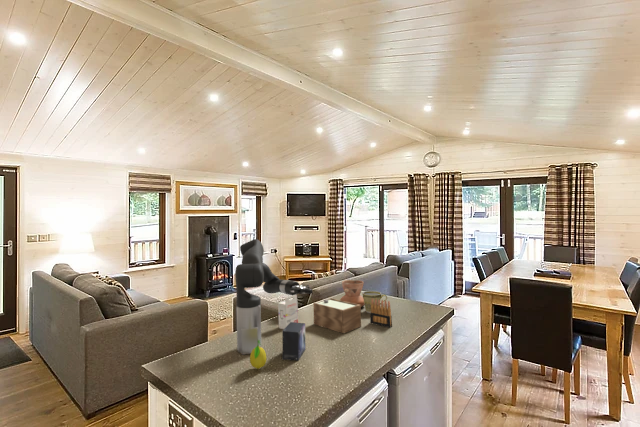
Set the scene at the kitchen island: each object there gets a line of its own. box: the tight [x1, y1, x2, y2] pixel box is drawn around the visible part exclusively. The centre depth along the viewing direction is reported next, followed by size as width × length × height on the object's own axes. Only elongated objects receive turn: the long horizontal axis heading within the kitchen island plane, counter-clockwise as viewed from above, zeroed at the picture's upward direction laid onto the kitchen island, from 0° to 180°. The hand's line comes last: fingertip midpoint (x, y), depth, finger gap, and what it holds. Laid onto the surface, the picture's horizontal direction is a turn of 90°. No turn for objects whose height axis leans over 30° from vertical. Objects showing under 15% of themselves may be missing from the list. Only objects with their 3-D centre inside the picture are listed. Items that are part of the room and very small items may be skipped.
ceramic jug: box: [339, 279, 365, 308], centre depth 189 cm, size 18×14×14 cm
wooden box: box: [313, 298, 362, 334], centre depth 157 cm, size 19×12×10 cm, turn 45°
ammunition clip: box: [369, 298, 393, 328], centre depth 156 cm, size 11×2×12 cm, turn 50°
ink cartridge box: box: [277, 294, 299, 330], centre depth 156 cm, size 9×5×15 cm, turn 143°
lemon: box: [249, 340, 267, 370], centre depth 113 cm, size 7×6×10 cm
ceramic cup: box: [361, 290, 388, 314], centre depth 177 cm, size 13×10×10 cm
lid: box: [316, 299, 356, 310], centre depth 157 cm, size 18×10×2 cm, turn 45°
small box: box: [281, 322, 306, 362], centre depth 125 cm, size 11×6×10 cm, turn 168°
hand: (311, 291), depth 169 cm, fingers closed
